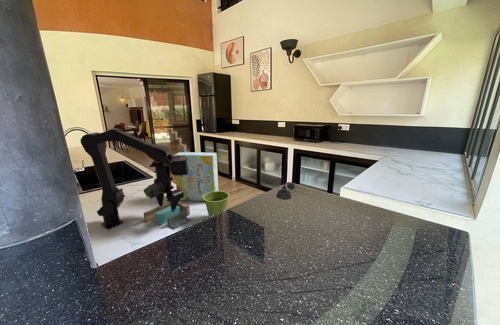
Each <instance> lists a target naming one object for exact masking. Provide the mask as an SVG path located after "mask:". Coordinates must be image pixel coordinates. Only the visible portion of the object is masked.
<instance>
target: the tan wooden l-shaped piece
mask: <svg viewBox="0 0 500 325" xmlns="http://www.w3.org/2000/svg"><path fill="white" fill-rule="evenodd" d="M169 206H170V202H167V203H165V204H164V203H163V205H162V206H161V207H160V206H157V207H154V208H151V209H150V210H147V211H145V212H143V219H144V223H146V224H148V223H150V222H152V221H155V213H156V212H158V211H160V210H163V209H165V208H167V207H169ZM177 206H179V207H180V212H181V211H183V210H186V211H187V217H188V216H190V215H191V212H190V206H189V205H187V204H186V203H183V202H181V201H179V202H178V205H177Z"/></svg>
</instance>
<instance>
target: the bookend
mask: <svg viewBox="0 0 500 325" xmlns="http://www.w3.org/2000/svg"><path fill="white" fill-rule="evenodd" d="M167 220H168V223H167V227H169V228H170V229H172V230H175V229H179V228H180V227H182V226H183V225H186V224H188V223H189V222H191V221H192V218H190V217H188V216H187V211H186V210H183V211H181V212H179V213H177V214H174V215H172V216H170V217H168V218H167Z"/></svg>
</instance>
